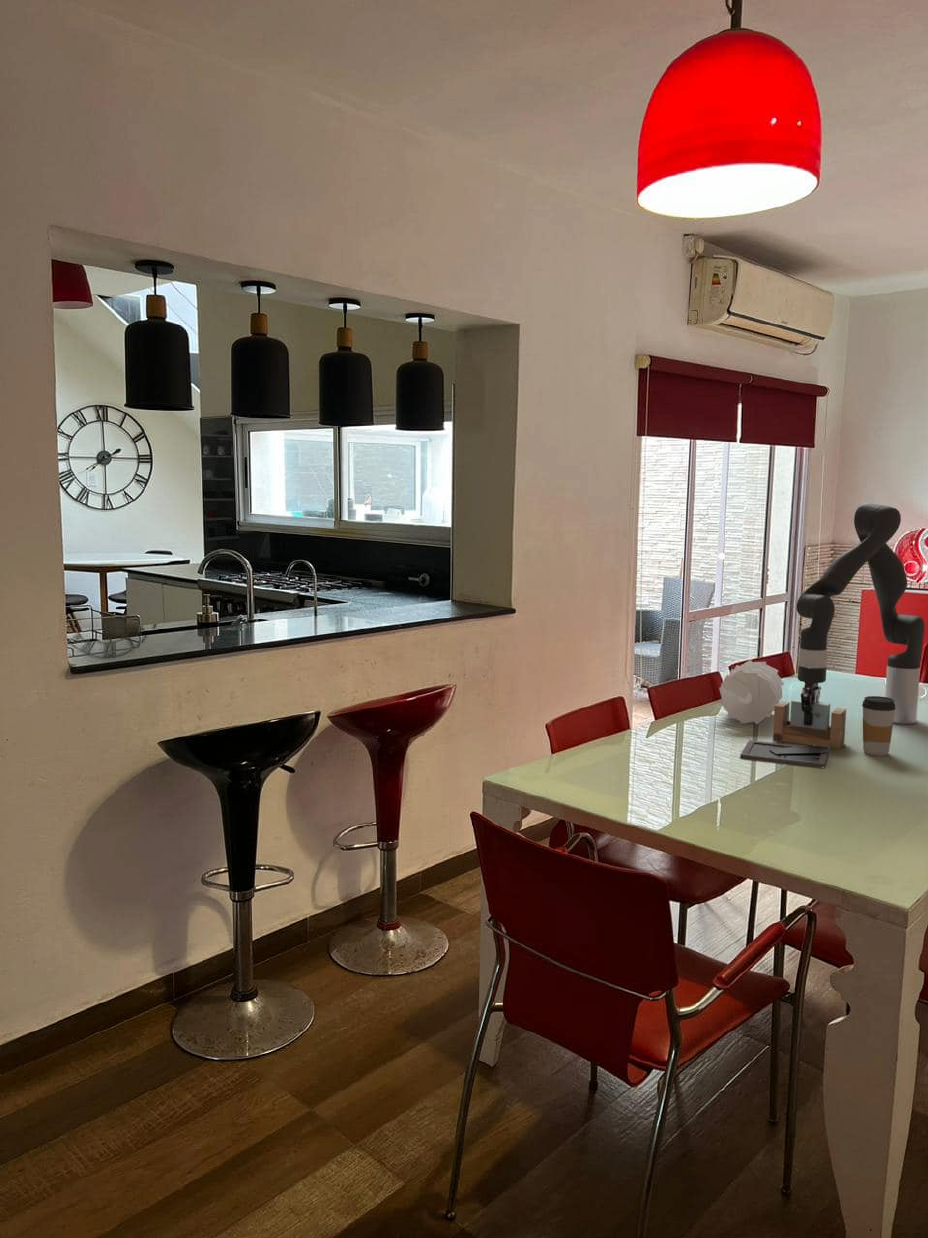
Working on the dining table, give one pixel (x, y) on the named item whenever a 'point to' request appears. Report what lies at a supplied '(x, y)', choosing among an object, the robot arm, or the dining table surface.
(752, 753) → the picture frame
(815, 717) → the door panel
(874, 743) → the coffee cup
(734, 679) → the spiral staircase
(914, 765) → the dining table surface
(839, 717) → the track
